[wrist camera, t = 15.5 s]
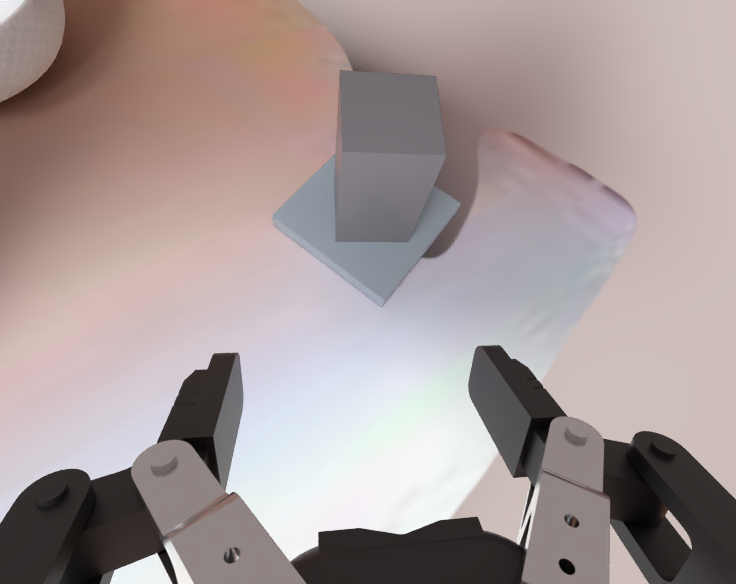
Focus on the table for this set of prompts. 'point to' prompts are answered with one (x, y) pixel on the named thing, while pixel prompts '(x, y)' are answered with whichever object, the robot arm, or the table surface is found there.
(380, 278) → the stub base
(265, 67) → the table surface
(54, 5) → the cereal bowl
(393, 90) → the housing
